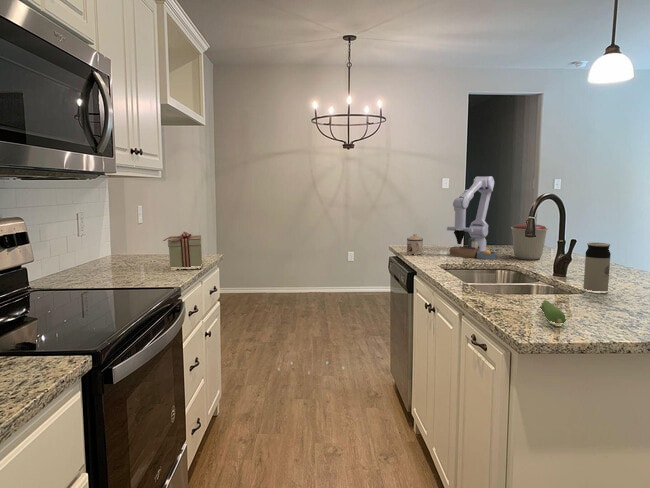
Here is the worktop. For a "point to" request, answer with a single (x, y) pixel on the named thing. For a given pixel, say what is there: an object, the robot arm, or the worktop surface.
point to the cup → (486, 255)
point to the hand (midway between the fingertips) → (459, 244)
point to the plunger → (472, 243)
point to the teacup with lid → (414, 245)
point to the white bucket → (528, 242)
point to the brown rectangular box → (464, 251)
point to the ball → (486, 252)
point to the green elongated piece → (552, 312)
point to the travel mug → (597, 267)
